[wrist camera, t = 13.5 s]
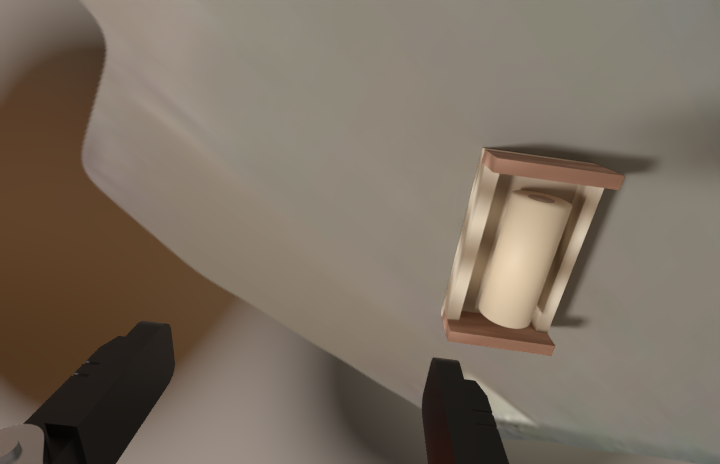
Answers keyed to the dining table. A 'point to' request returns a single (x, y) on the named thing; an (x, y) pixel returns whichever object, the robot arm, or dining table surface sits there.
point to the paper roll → (523, 257)
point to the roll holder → (482, 231)
